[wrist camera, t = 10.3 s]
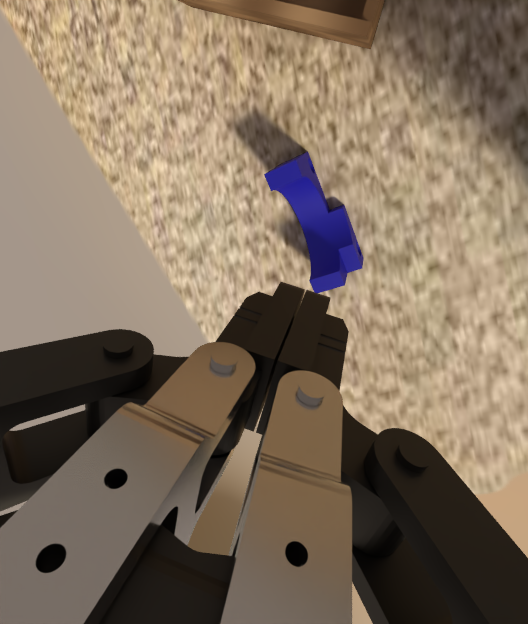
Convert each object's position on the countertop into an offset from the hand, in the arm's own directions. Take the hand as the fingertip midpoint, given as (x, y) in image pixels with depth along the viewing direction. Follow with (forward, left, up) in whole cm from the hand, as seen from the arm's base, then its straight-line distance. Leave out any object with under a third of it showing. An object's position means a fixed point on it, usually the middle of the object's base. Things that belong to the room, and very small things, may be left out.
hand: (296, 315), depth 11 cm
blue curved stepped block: (+2, +5, -29) cm, 30 cm away
